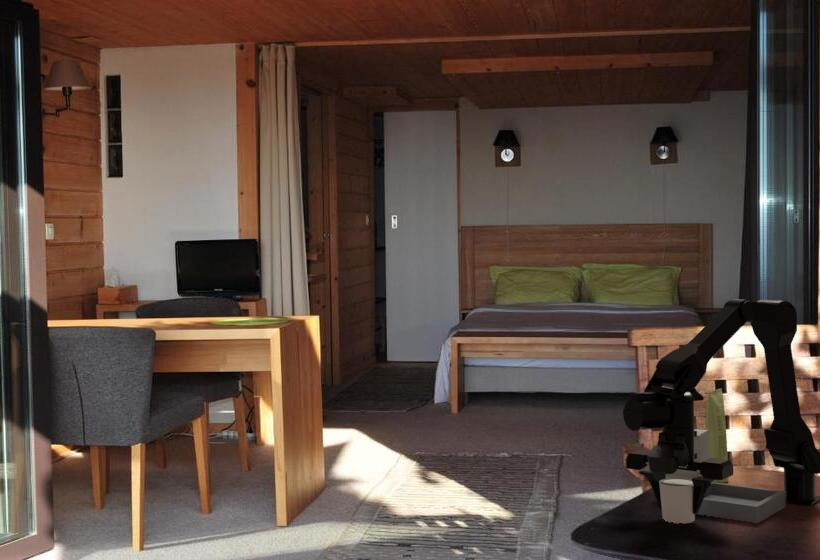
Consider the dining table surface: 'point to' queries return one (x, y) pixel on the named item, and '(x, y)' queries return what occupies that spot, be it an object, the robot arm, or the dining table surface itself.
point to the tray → (741, 502)
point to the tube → (716, 427)
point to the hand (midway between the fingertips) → (678, 511)
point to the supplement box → (702, 454)
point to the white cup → (677, 500)
